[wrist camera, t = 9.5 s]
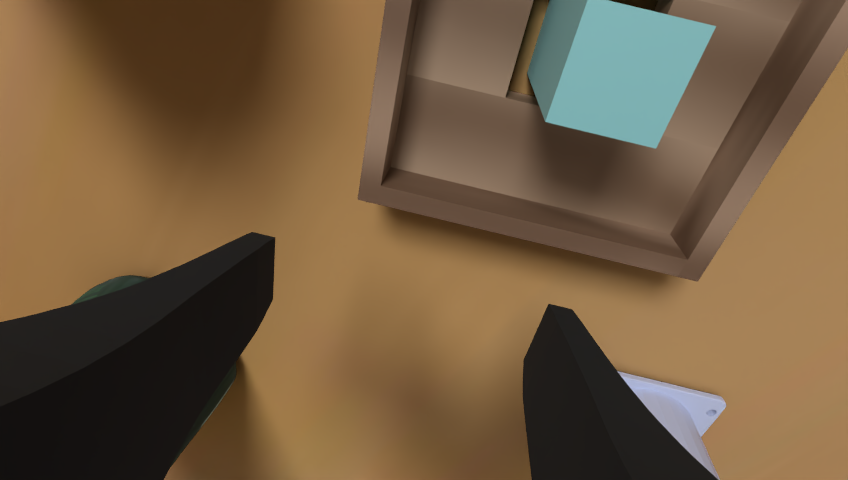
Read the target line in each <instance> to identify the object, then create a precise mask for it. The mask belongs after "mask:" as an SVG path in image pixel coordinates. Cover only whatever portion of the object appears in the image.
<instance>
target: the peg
mask: <svg viewBox="0 0 848 480" xmlns="http://www.w3.org/2000/svg"><path fill="white" fill-rule="evenodd" d="M715 28H716V26H713V25H709V24H705V23H700V22H696V21H692V20H688V19H684V18H680V17H675V16H671V15H667V14H663V13H659V12H655V11H651V10H646V9H642V8H638V7H634V6H630V5H626V4H621V3H617V2H613V1H609V0H550V1H549V4H548V7H547V10H546V14H545V17H544V20H543V23H542V26H541V30H540V33H539V36H538V39H537V43H536V46H535V49H534V52H533V56H532V59H531V62H530V65H529V68H528V72H527V74H528V77H529V80H530V82H531V85H532V88H533V90H534V93H535V96H536V98H537V101H538V104H539V107H540V109H541V112H542V115H543V117H544V120H545V122H548V123H552V124H556V125H560V126H564V127H568V128H573V129H577V130H581V131H585V132H589V133H593V134H597V135H601V136H606V137H610V138H614V139H618V140H622V141H626V142H630V143H635V144H639V145H643V146H647V147H651V148H655V149H656V148H657V146H658V144H659V142H660V140H661V138H662V135H663V133H664V131H665V129H666V127H667V125H668V123H669V121H670V119H671V117H672V115H673V113H674V111H675V109H676V107H677V105H678V103H679V101H680V99H681V97H682V95H683V93H684V91H685V89H686V87H687V85H688V83H689V81H690V79H691V77H692V75H693V73H694V70H695V68H696V66H697V64H698V62H699V60H700V58H701V56H702V54H703V52H704V50H705V48H706V46H707V44H708V42H709V40H710V38H711V36H712V34H713V32H714V30H715Z"/></svg>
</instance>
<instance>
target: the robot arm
mask: <svg viewBox="0 0 848 480" xmlns="http://www.w3.org/2000/svg"><path fill="white" fill-rule="evenodd" d="M274 255H275V237H271V236H266V235H262V234H258V233H254V232H251V233H249V234H246V235H244V236H242V237H240V238H238V239H236V240H233V241H231V242H229V243H227V244H225V245H223V246H221V247H219V248H217V249H215V250H213V251H211V252H209V253H206V254H204V255H202V256H200V257H198V258H196V259H194V260H192V261H189V262H187V263H185V264H183V265H181V266H178V267H176V268H173V269H171V270H169V271H166V272H164V273H161V274H159V275H157V276H154V277H152V278H150V279H147V280H145V281H142V282H140V283H137V284H134V285H132V286H129V287H126V288H123V289H121V290H118V291H115V292H112V293H109V294H105V295H102V296H99V297H96V298H93V299H90V300H87V301H83V302H80V303H76V304H72V305H68V306H65V307H61V308H57V309H53V310H50V311H46V312H42V313H39V314H35V315H31V316H26V317H22V318H17V319H13V320H8V321H4V322H0V480H164V478H165V476H166V474H167V472H168V470H169V468H170V467H171V465H172V463H173V461H174V459H175V457H176V455H177V453H178V452H179V450H180V448H181V446H182V444H183V443H184V441H185V439H186V437H187V435H188V434H189V432H190V430H191V428H192V427H193V425H194V423H195V421H196V419H197V418H198V416H199V414H200V413H201V411H202V410H203V408H204V407H205V405H206V404H207V402H208V400H209V399H210V398H211V396H212V395H213V393H214V392H215V390H216V389H217V388H218V386H219V385H220V383H221V382H222V380H223V379H224V378H225V376H226V375H227V373H228V372H229V370H230V369H231V368H232V366H233V365H234V363H235V362H236V360H237V359H238V358H239V356H240V355H241V353H242V352H243V350H244V349H245V347H246V346H247V345H248V343H249V342H250V340H251V339H252V337H253V336H254V334H255V333H256V331H257V329H258V328H259V326H260V324H261V322H262V320H263V318H264V316H265V314H266V312H267V310H268V308H269V306H270V304H271V302H272V300H273V282H274ZM523 404H524V413H525V423H526V432H527V441H528V449H529V458H530V467H531V476H532V480H720V479H719V476H718V474H717V472H716V470H715V468H714V465H713V463H712V461H711V459H710V457H709V454H708V452H707V450H706V448H705V446H704V443H703V441H702V439H701V436H702V435H703V434H704V433H705V432H706V430H707V429H708V428H709V427H710V426H711V424H712V423H713V422H714V421H715V420H716V418H717V417H718V416H719V415H720V414H721V412H722V411H723V410H724V409H725V407H726V403H725V401H724V399H723V398H722V397H720V396H718V395H713V394H709V393H705V392H701V391H697V390H693V389H689V388H685V387H681V386H676V385H672V384H668V383H664V382H660V381H656V380H652V379H648V378H643V377H639V376H635V375H631V374H627V373H623V372H619V371H617V370H616V369H615V368H614V366H613V365H612V364H611V362H610V361H609V360H608V358H607V357H606V356H605V354H604V353H603V351H602V350H601V349H600V347H599V346H598V345H597V343H596V342H595V340H594V339H593V338H592V336H591V335H590V333H589V332H588V331H587V329H586V328H585V326H584V325H583V323H582V322H581V321H580V319H579V318H578V317H577V315H576V314H575V313H574V311H573V310H572V309H568V308H564V307H560V306H556V305H551V304H548V307H547V309H546V311H545V313H544V316H543V318H542V320H541V322H540V325H539V327H538V329H537V331H536V334H535V336H534V338H533V340H532V343H531V345H530V347H529V349H528V352H527V354H526V356H525V358H524V365H523Z"/></svg>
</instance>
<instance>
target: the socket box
mask: <svg viewBox="0 0 848 480" xmlns="http://www.w3.org/2000/svg"><path fill="white" fill-rule="evenodd" d="M533 1H534V0H386V2H385V10H384V17H383V24H382V31H381V38H380V45H379V52H378V59H377V66H376V73H375V80H374V87H373V94H372V102H371V109H370V116H369V123H368V130H367V137H366V144H365V151H364V158H363V165H362V172H361V179H360V186H359V194H358V200H362V201H366V202H370V203H374V204H379V205H383V206H387V207H391V208H395V209H399V210H403V211H408V212H412V213H416V214H420V215H424V216H428V217H432V218H437V219H441V220H445V221H449V222H453V223H457V224H461V225H466V226H470V227H474V228H478V229H482V230H486V231H490V232H495V233H499V234H503V235H507V236H511V237H515V238H519V239H524V240H528V241H532V242H536V243H540V244H544V245H548V246H553V247H557V248H561V249H565V250H569V251H573V252H577V253H582V254H586V255H590V256H594V257H598V258H602V259H606V260H611V261H615V262H619V263H623V264H627V265H631V266H635V267H640V268H644V269H648V270H652V271H656V272H660V273H664V274H669V275H673V276H677V277H681V278H685V279H689V280H693V281H698V280H699V279H700V277H701V276H702V274H703V273H704V271H705V269H706V268H707V266H708V265H709V263H710V262H711V260H712V259H713V257H714V255H715V254H716V252H717V251H718V249H719V248H720V246H721V245H722V243H723V241H724V240H725V238H726V237H727V235H728V234H729V232H730V230H731V229H732V227H733V226H734V224H735V223H736V221H737V220H738V218H739V216H740V215H741V213H742V212H743V210H744V209H745V207H746V206H747V204H748V202H749V201H750V199H751V198H752V196H753V195H754V193H755V192H756V190H757V188H758V187H759V185H760V184H761V182H762V181H763V179H764V178H765V176H766V174H767V173H768V171H769V170H770V168H771V167H772V165H773V164H774V162H775V160H776V159H777V157H778V156H779V154H780V153H781V151H782V150H783V148H784V146H785V145H786V143H787V142H788V140H789V139H790V137H791V136H792V134H793V132H794V131H795V129H796V128H797V126H798V125H799V123H800V122H801V120H802V118H803V117H804V115H805V114H806V112H807V111H808V109H809V108H810V106H811V104H812V103H813V101H814V100H815V98H816V97H817V95H818V93H819V92H820V90H821V89H822V87H823V86H824V84H825V83H826V81H827V79H828V78H829V76H830V75H831V73H832V72H833V70H834V69H835V67H836V65H837V64H838V62H839V61H840V59H841V58H842V56H843V55H844V53H845V51H846V50H847V48H848V0H658V2H657V5H656V7H655V9H654V11H655V12H659V13H663V14H667V15H671V16H675V17H680V18H684V19H688V20H692V21H696V22H700V23H705V24H709V25H713V26H716V28H715V30H714V32H713V34H712V36H711V38H710V40H709V42H708V44H707V46H706V48H705V50H704V52H703V54H702V56H701V58H700V60H699V62H698V64H697V66H696V68H695V70H694V73H693V75H692V77H691V79H690V81H689V83H688V85H687V87H686V89H685V91H684V93H683V95H682V97H681V99H680V101H679V103H678V105H677V107H676V109H675V111H674V113H673V115H672V117H671V119H670V121H669V123H668V125H667V127H666V129H665V131H664V133H663V135H662V138H661V140H660V142H659V144H658V146H657V148H656V149H655V148H651V147H647V146H643V145H639V144H635V143H630V142H626V141H622V140H618V139H614V138H610V137H606V136H601V135H597V134H593V133H589V132H585V131H581V130H577V129H573V128H568V127H564V126H560V125H556V124H552V123H548V122H545V120H544V117H543V115H542V112H541V109H540V107H539V104H538V101H537V98H536V97H534V96H530V95H526V94H522V93H518V92H513V91H509V90H508V87H509V83H510V80H511V76H512V73H513V69H514V66H515V63H516V59H517V56H518V52H519V49H520V45H521V42H522V39H523V35H524V32H525V28H526V25H527V21H528V18H529V15H530V11H531V8H532V4H533Z"/></svg>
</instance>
